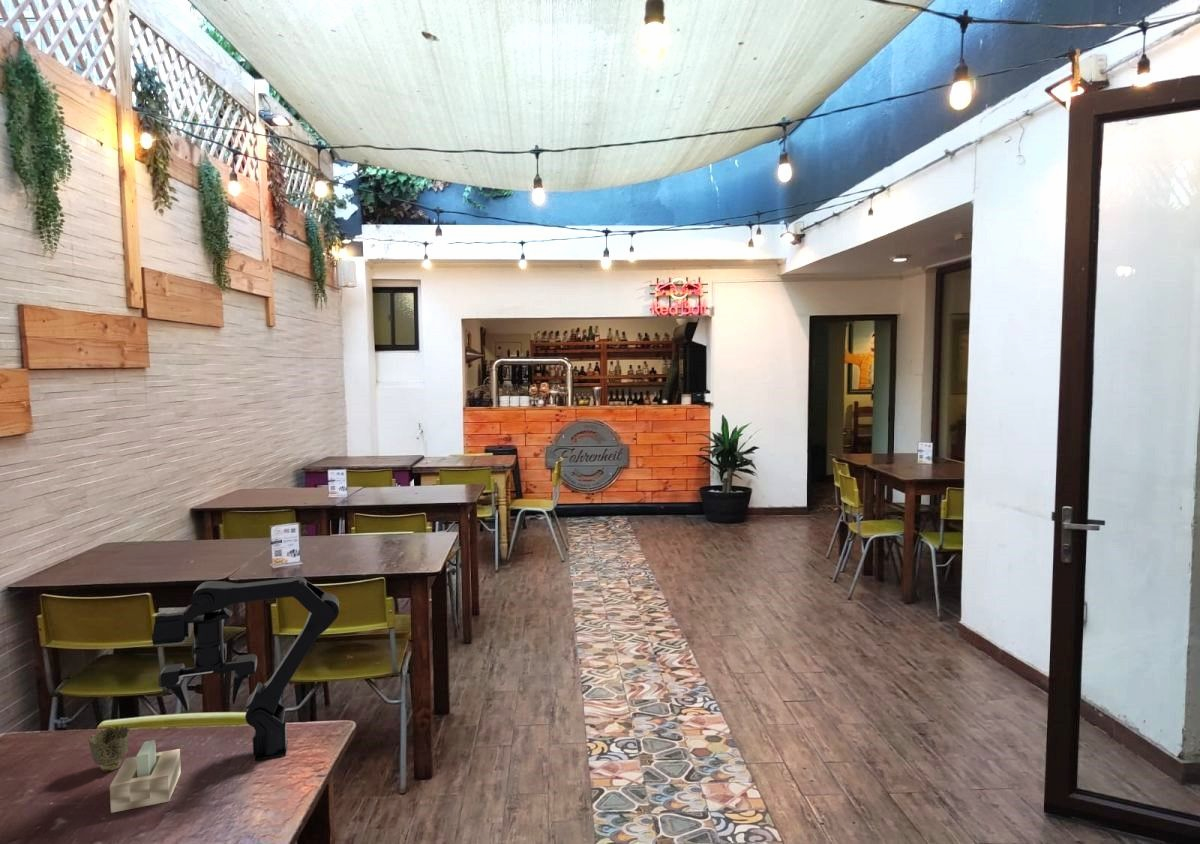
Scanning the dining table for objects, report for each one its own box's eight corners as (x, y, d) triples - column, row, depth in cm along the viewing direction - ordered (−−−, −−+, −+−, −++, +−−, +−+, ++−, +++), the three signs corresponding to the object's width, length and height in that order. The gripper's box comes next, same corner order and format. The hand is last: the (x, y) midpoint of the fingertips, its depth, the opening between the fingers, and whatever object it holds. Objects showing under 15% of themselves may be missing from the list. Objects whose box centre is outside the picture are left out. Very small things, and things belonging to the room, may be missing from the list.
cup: (109, 779, 145) (107, 743, 145) (81, 775, 147) (79, 740, 147) (139, 760, 153) (137, 726, 152) (112, 757, 154) (111, 723, 154)
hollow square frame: (180, 772, 148) (179, 748, 148) (169, 801, 138) (168, 775, 137) (127, 782, 144) (126, 758, 144) (111, 812, 134) (109, 786, 134)
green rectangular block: (157, 775, 144) (155, 739, 144) (149, 791, 139) (148, 754, 138) (145, 777, 143) (144, 741, 143) (137, 793, 138) (136, 756, 137)
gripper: (258, 622, 161) (260, 685, 162) (168, 632, 155) (171, 698, 155) (253, 638, 151) (255, 705, 152) (156, 650, 144) (159, 720, 145)
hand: (211, 706), depth 151 cm, fingers open, 9 cm apart
